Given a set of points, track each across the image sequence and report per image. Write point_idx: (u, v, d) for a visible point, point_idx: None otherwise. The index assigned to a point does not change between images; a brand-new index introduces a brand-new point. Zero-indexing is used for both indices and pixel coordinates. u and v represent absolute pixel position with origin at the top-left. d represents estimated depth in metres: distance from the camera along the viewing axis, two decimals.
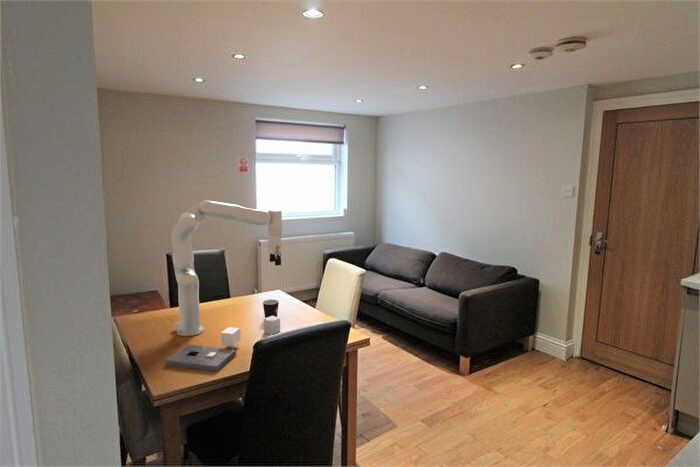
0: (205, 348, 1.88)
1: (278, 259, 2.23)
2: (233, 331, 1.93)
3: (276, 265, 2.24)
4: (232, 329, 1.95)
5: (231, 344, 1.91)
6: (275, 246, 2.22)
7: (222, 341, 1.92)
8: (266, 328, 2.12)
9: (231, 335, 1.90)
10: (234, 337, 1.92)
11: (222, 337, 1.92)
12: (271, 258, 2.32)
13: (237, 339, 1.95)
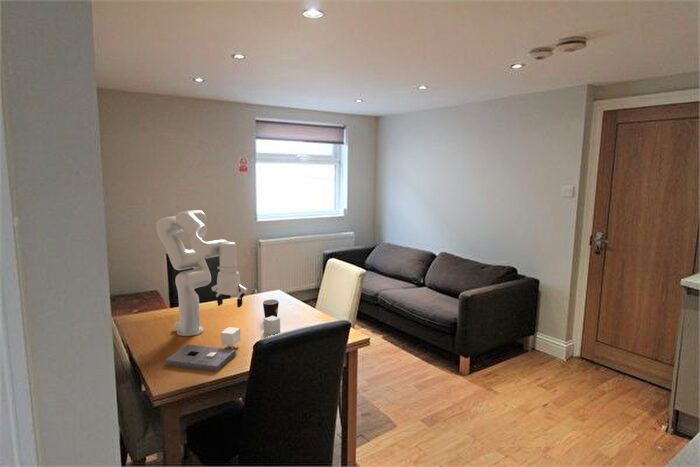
0: (205, 348, 1.88)
1: (241, 300, 1.90)
2: (233, 331, 1.93)
3: None
4: (232, 329, 1.95)
5: (231, 344, 1.91)
6: (237, 285, 1.88)
7: (222, 341, 1.92)
8: (266, 328, 2.12)
9: (231, 335, 1.90)
10: (234, 337, 1.92)
11: (222, 337, 1.92)
12: (220, 301, 1.92)
13: (237, 339, 1.95)
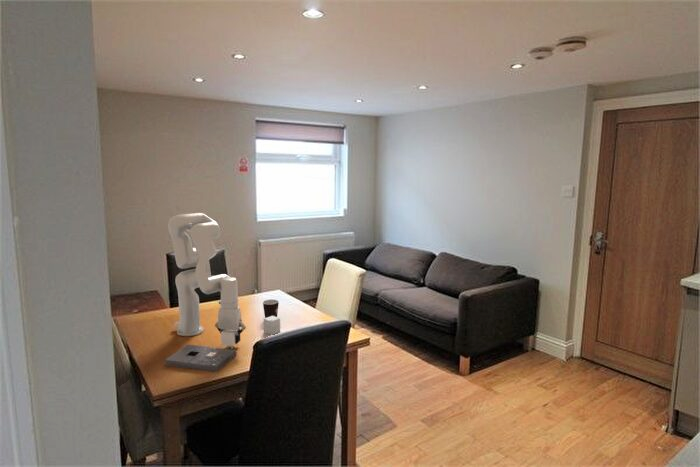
0: (205, 348, 1.88)
1: (239, 336, 1.93)
2: (233, 331, 1.93)
3: None
4: None
5: (231, 344, 1.91)
6: (238, 320, 1.91)
7: (222, 341, 1.92)
8: (266, 328, 2.12)
9: (231, 335, 1.90)
10: (234, 337, 1.92)
11: (222, 337, 1.92)
12: None
13: None
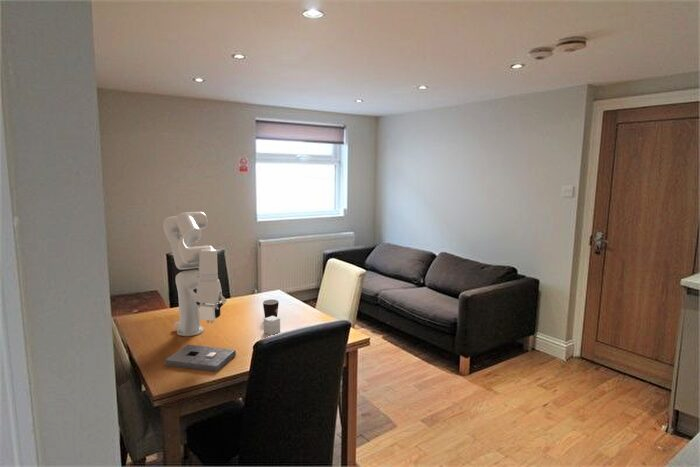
0: (205, 348, 1.88)
1: (219, 310, 1.85)
2: (213, 305, 1.84)
3: (217, 317, 1.85)
4: None
5: (211, 318, 1.83)
6: (218, 293, 1.82)
7: (201, 315, 1.83)
8: (266, 328, 2.12)
9: (210, 309, 1.82)
10: (214, 311, 1.83)
11: (201, 311, 1.83)
12: None
13: None
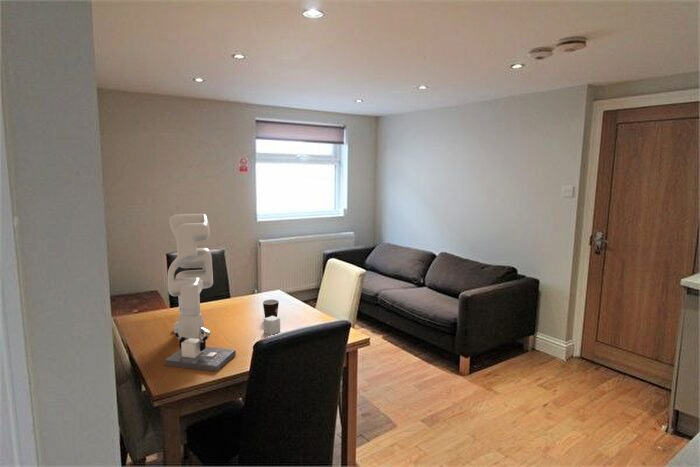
0: (205, 348, 1.88)
1: (204, 343, 1.80)
2: (195, 341, 1.81)
3: (202, 350, 1.80)
4: (194, 339, 1.83)
5: (192, 355, 1.79)
6: (200, 328, 1.78)
7: (183, 352, 1.80)
8: (266, 328, 2.12)
9: (192, 346, 1.78)
10: (196, 348, 1.80)
11: (182, 348, 1.79)
12: None
13: (199, 350, 1.83)
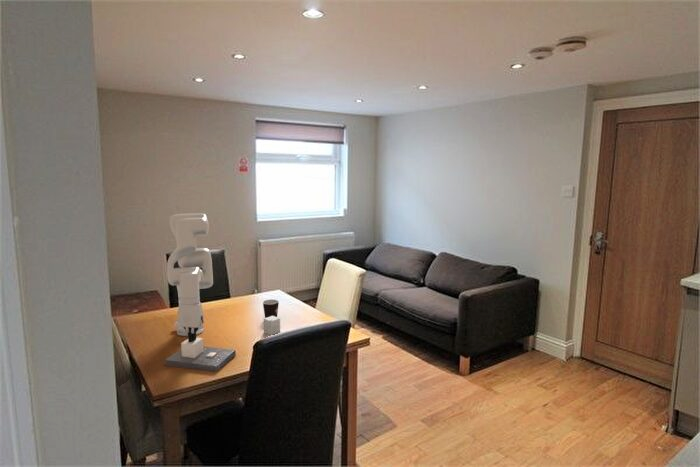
0: (205, 348, 1.88)
1: (194, 334, 1.81)
2: (195, 341, 1.81)
3: (192, 341, 1.81)
4: None
5: (192, 355, 1.79)
6: (199, 317, 1.78)
7: (183, 352, 1.80)
8: (266, 328, 2.12)
9: (192, 346, 1.78)
10: (196, 348, 1.80)
11: (182, 348, 1.79)
12: None
13: (199, 350, 1.83)
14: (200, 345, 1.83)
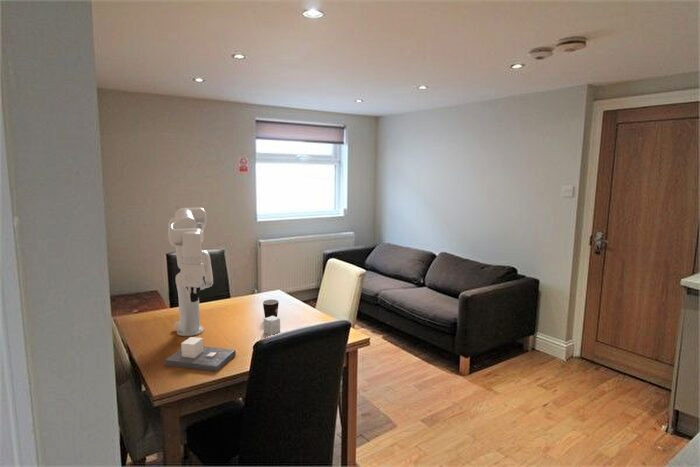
0: (205, 348, 1.88)
1: (196, 294, 1.82)
2: (195, 341, 1.81)
3: (194, 302, 1.82)
4: (194, 339, 1.83)
5: (192, 355, 1.79)
6: (202, 277, 1.79)
7: (183, 352, 1.80)
8: (266, 328, 2.12)
9: (192, 346, 1.78)
10: (196, 348, 1.80)
11: (182, 348, 1.79)
12: None
13: (199, 350, 1.83)
14: (200, 345, 1.83)
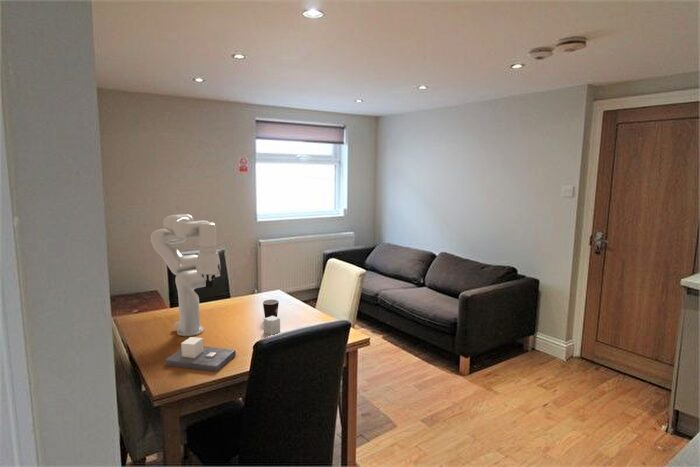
0: (205, 348, 1.88)
1: (211, 282, 1.94)
2: (195, 341, 1.81)
3: (210, 288, 1.94)
4: (194, 339, 1.83)
5: (192, 355, 1.79)
6: (217, 265, 1.91)
7: (183, 352, 1.80)
8: (266, 328, 2.12)
9: (192, 346, 1.78)
10: (196, 348, 1.80)
11: (182, 348, 1.79)
12: None
13: (199, 350, 1.83)
14: (200, 345, 1.83)
